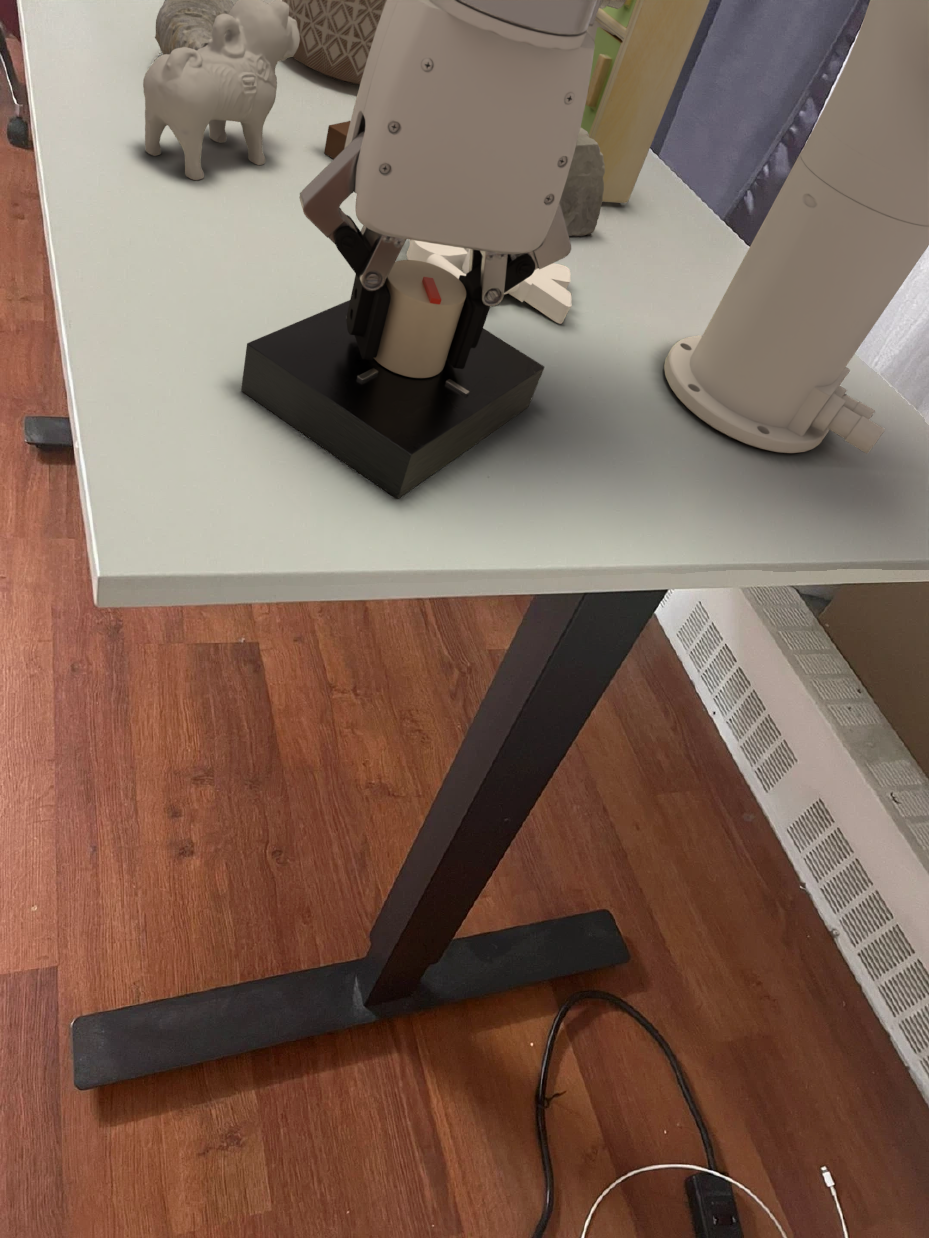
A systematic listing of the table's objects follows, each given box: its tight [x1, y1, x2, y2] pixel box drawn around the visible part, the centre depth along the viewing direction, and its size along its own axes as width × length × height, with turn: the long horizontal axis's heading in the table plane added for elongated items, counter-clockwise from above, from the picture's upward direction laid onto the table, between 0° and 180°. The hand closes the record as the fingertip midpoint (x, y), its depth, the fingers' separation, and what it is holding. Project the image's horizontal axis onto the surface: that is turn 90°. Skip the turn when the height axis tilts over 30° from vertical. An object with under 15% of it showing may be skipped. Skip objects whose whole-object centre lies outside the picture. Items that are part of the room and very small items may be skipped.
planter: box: [281, 0, 387, 86], centre depth 83 cm, size 13×13×10 cm
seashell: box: [154, 0, 235, 55], centre depth 74 cm, size 6×14×8 cm, turn 5°
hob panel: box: [240, 299, 545, 499], centre depth 52 cm, size 14×11×3 cm
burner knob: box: [374, 259, 466, 378], centre depth 49 cm, size 4×4×5 cm
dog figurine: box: [142, 0, 300, 181], centre depth 64 cm, size 5×13×11 cm, turn 149°
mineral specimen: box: [560, 127, 605, 237], centre depth 73 cm, size 7×9×8 cm
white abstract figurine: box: [406, 240, 573, 325], centre depth 65 cm, size 9×12×2 cm
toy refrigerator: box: [581, 0, 710, 204], centre depth 76 cm, size 8×7×21 cm
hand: (408, 347), depth 50 cm, fingers closed on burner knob, 4 cm apart
